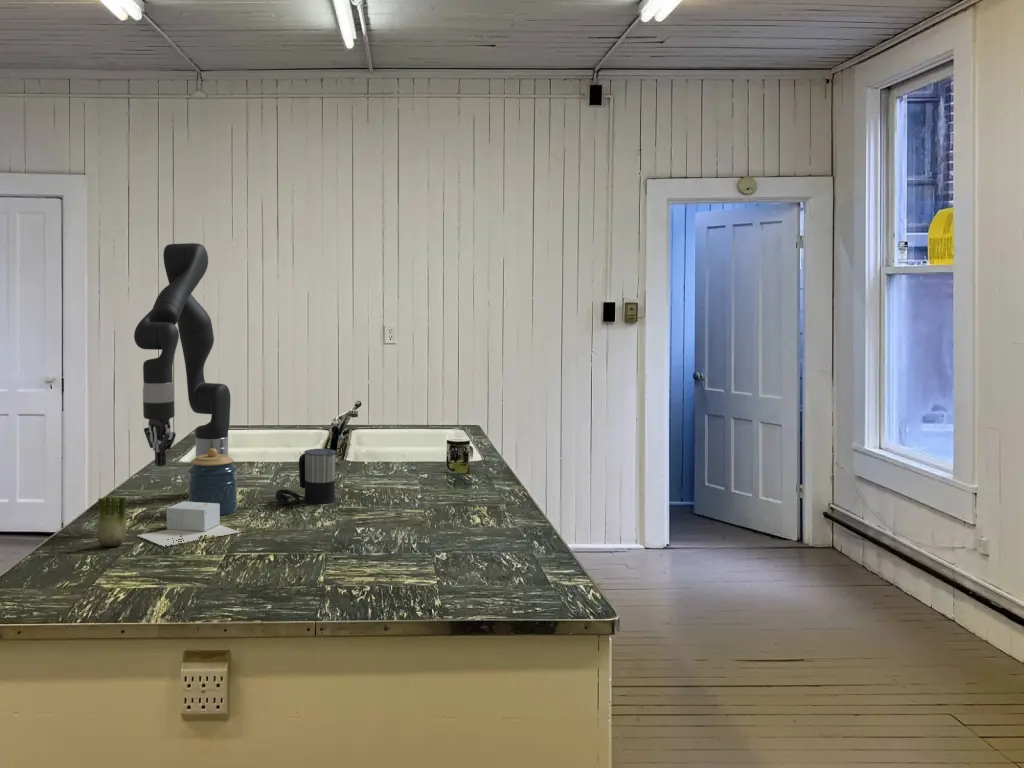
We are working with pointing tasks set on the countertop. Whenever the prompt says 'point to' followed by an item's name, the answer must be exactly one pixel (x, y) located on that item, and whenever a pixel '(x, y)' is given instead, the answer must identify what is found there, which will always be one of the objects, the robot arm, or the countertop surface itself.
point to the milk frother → (314, 478)
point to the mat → (184, 535)
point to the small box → (193, 516)
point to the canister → (213, 481)
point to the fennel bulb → (111, 522)
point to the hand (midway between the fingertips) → (160, 465)
